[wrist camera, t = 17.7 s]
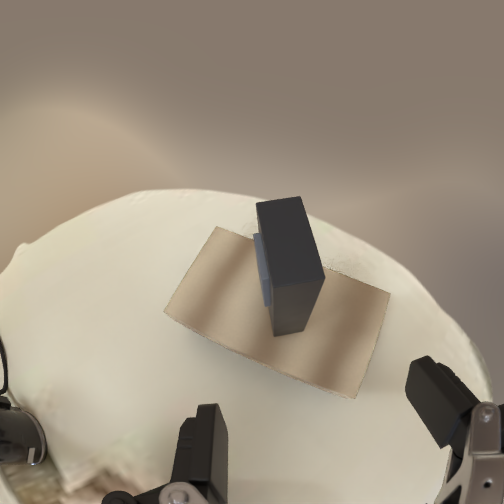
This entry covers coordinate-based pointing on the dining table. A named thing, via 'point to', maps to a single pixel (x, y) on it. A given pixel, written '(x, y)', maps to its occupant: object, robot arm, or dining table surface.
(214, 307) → the lidded shoe box
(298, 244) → the dark grey rectangular block
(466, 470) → the robot arm
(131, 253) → the dining table surface
